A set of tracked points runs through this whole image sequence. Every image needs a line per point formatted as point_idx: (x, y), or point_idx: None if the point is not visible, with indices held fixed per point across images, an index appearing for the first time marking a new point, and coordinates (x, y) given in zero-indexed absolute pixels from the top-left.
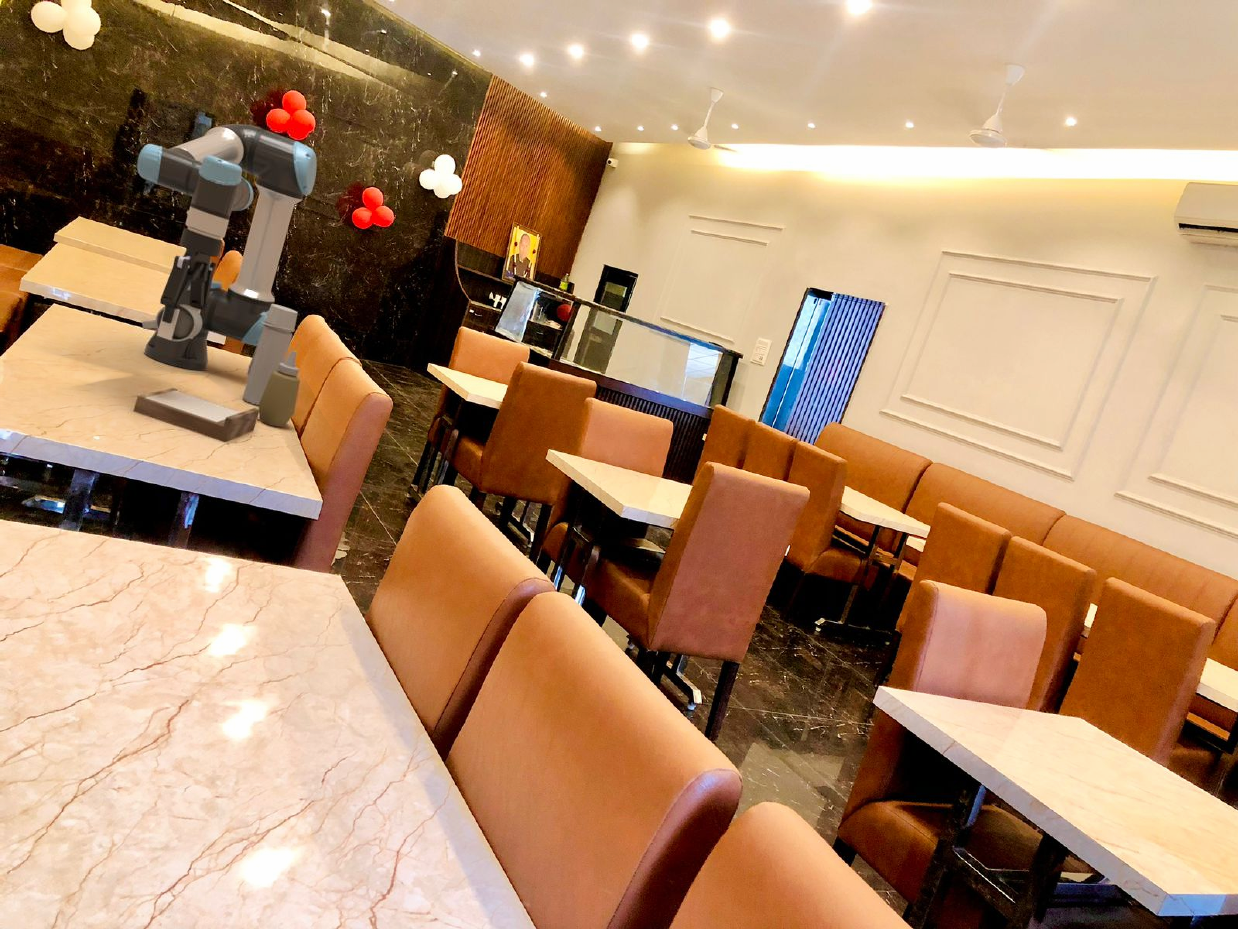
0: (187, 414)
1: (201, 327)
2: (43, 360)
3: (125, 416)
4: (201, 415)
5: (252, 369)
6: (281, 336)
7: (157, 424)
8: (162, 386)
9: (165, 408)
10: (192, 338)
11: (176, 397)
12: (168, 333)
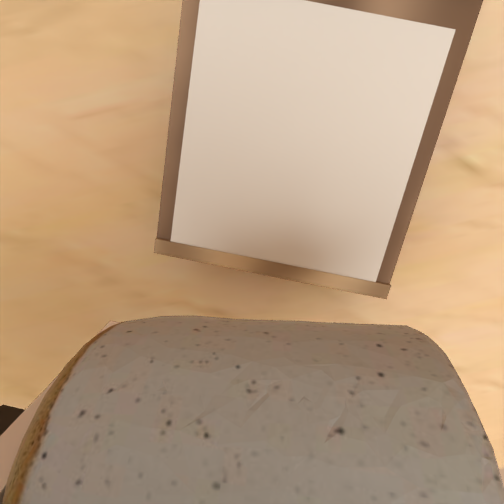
0: (435, 140)
1: (110, 334)
2: None
3: (446, 281)
4: (417, 97)
5: None
6: None
7: (447, 205)
8: (25, 292)
9: (411, 212)
10: (112, 321)
11: (261, 218)
12: None
